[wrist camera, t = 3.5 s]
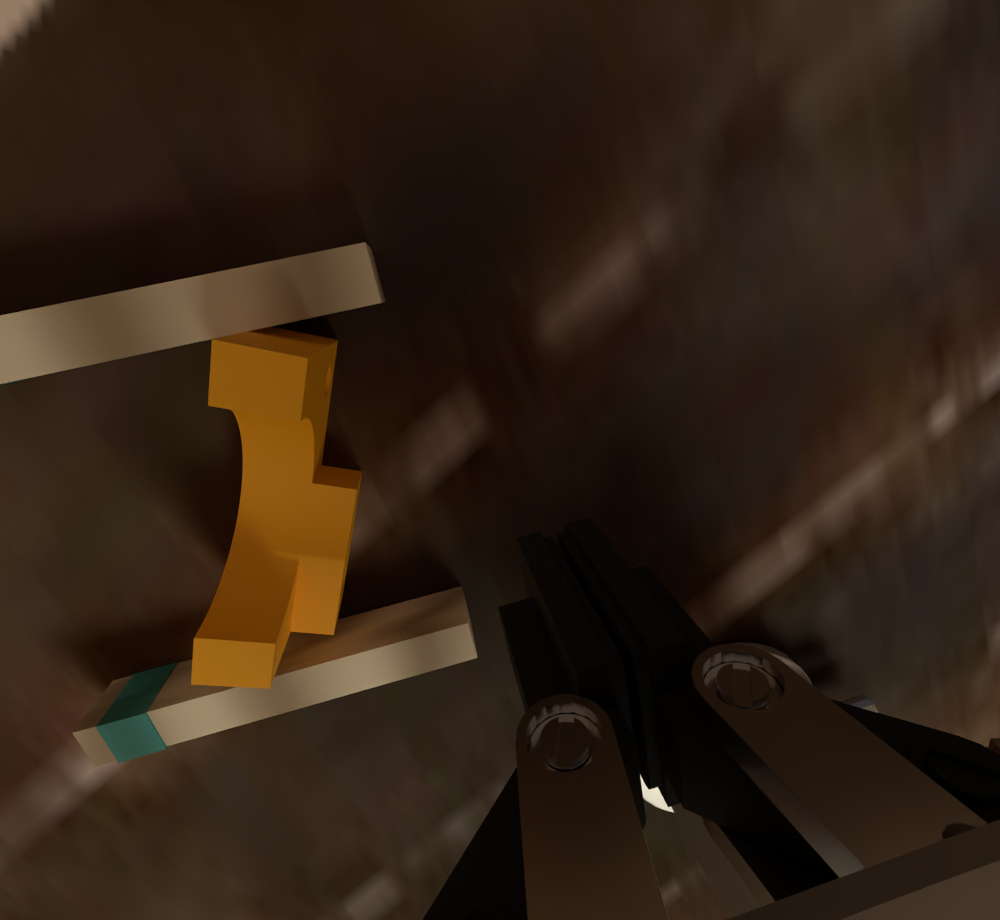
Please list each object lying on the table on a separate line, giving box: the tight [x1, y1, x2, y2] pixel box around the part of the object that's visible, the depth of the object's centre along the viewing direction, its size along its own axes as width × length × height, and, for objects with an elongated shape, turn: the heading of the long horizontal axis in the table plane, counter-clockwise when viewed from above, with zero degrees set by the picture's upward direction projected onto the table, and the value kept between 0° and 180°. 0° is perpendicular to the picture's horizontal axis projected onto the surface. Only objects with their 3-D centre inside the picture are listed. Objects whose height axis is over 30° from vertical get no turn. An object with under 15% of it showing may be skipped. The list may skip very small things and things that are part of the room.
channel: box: [0, 242, 477, 767], centre depth 20 cm, size 17×18×3 cm
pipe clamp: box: [191, 326, 362, 689], centre depth 19 cm, size 12×4×6 cm, turn 167°
